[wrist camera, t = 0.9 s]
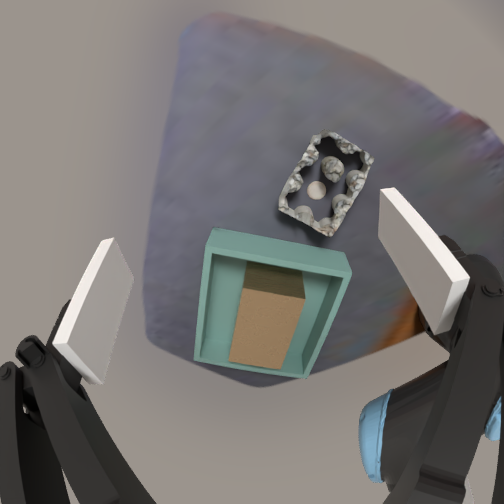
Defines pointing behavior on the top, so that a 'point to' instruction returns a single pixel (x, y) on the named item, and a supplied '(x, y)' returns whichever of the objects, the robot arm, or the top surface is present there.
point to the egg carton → (317, 189)
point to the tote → (229, 289)
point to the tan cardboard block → (266, 315)
